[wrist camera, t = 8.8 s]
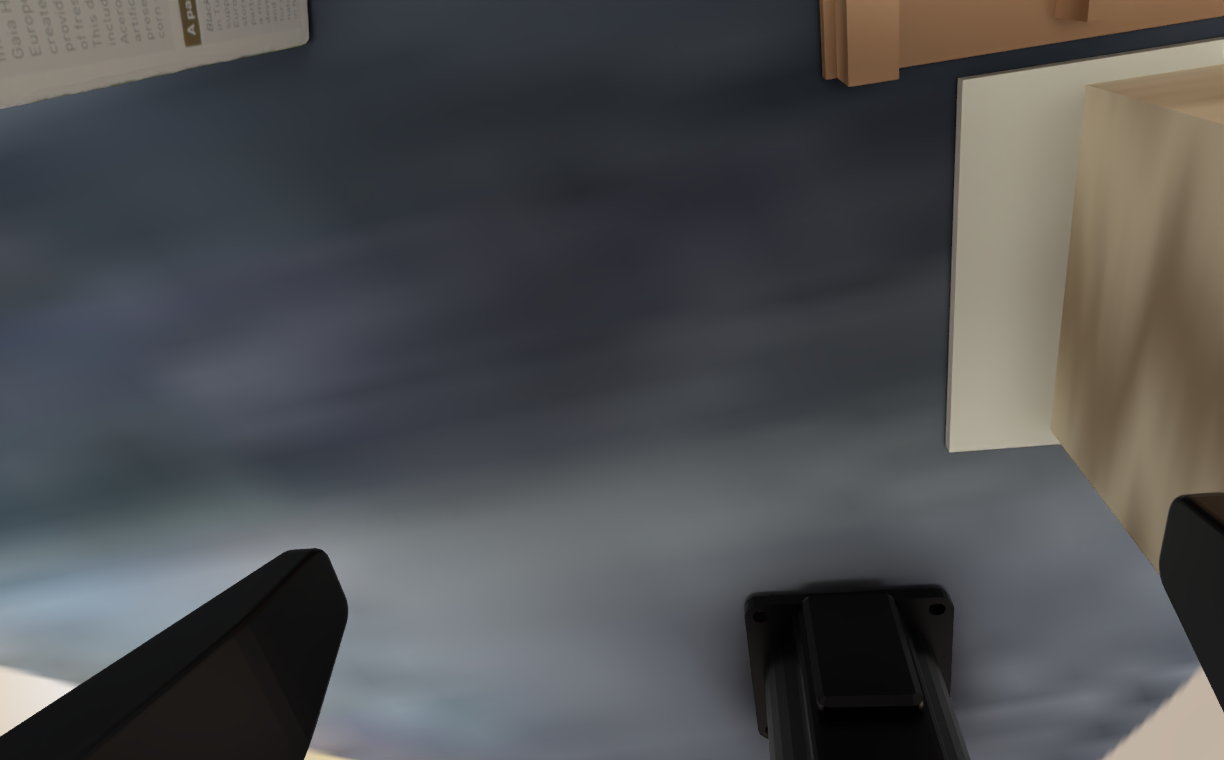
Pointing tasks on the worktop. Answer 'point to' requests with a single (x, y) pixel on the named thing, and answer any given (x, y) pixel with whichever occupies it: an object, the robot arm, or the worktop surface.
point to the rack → (974, 29)
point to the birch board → (1146, 298)
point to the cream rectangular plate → (1022, 236)
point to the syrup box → (132, 40)
